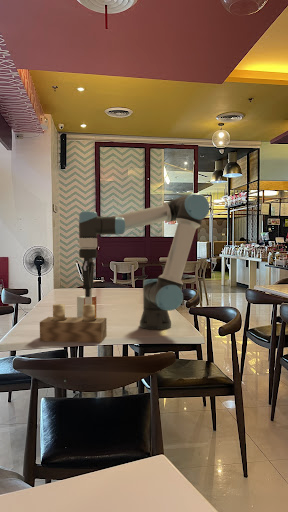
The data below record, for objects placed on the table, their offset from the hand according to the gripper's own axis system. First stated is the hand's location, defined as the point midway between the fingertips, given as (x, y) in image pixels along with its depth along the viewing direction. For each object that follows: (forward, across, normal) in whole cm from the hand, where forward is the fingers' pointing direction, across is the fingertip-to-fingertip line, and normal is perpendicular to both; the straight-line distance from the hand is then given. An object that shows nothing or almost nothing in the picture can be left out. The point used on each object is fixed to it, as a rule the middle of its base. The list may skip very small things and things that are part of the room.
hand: (88, 304), depth 171 cm
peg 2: (+9, 0, 0) cm, 9 cm away
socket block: (+15, 0, -6) cm, 16 cm away
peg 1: (+9, 0, -13) cm, 16 cm away
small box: (+15, -36, -9) cm, 40 cm away
